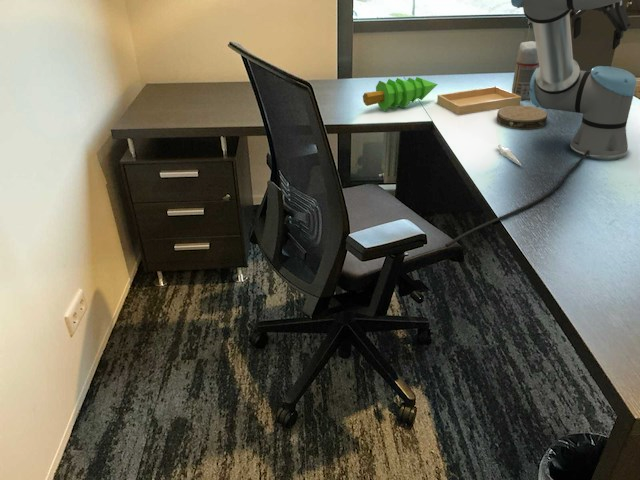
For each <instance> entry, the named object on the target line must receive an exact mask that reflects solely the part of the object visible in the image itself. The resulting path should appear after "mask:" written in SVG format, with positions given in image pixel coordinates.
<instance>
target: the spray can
mask: <svg viewBox="0 0 640 480" xmlns="http://www.w3.org/2000/svg"><path fill="white" fill-rule="evenodd" d="M537 68H539V61H538V55H537V49H536V42H535V40H530V41H524V42H523V41H522V42H521V43H520V45H519V47H518V52H517V58H516V61H515V67H514V74H513V79H512V80H513V81H512V86H511V93H514V94H516V95H519V96H521V100H531V99H530V93H529V92H530V82H531V78H532V75H533V73H534V71H535V70H536V69H537Z"/></svg>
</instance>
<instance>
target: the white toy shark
mask: <svg viewBox="0 0 640 480" xmlns="http://www.w3.org/2000/svg"><path fill="white" fill-rule="evenodd" d="M497 147H498V148H499V152H500V154H501V155H502V156H503V157H504V158H507V159H508V160H509V161H511V162H513V163H514V164H516V165H518V166H520V167H522V164H521V161H519V159H518V158H517V157H516V156H515V154H514V153H512V150H511V149H510V148H507V147H505V146H502V145H501V144H498V145H497Z"/></svg>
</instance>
